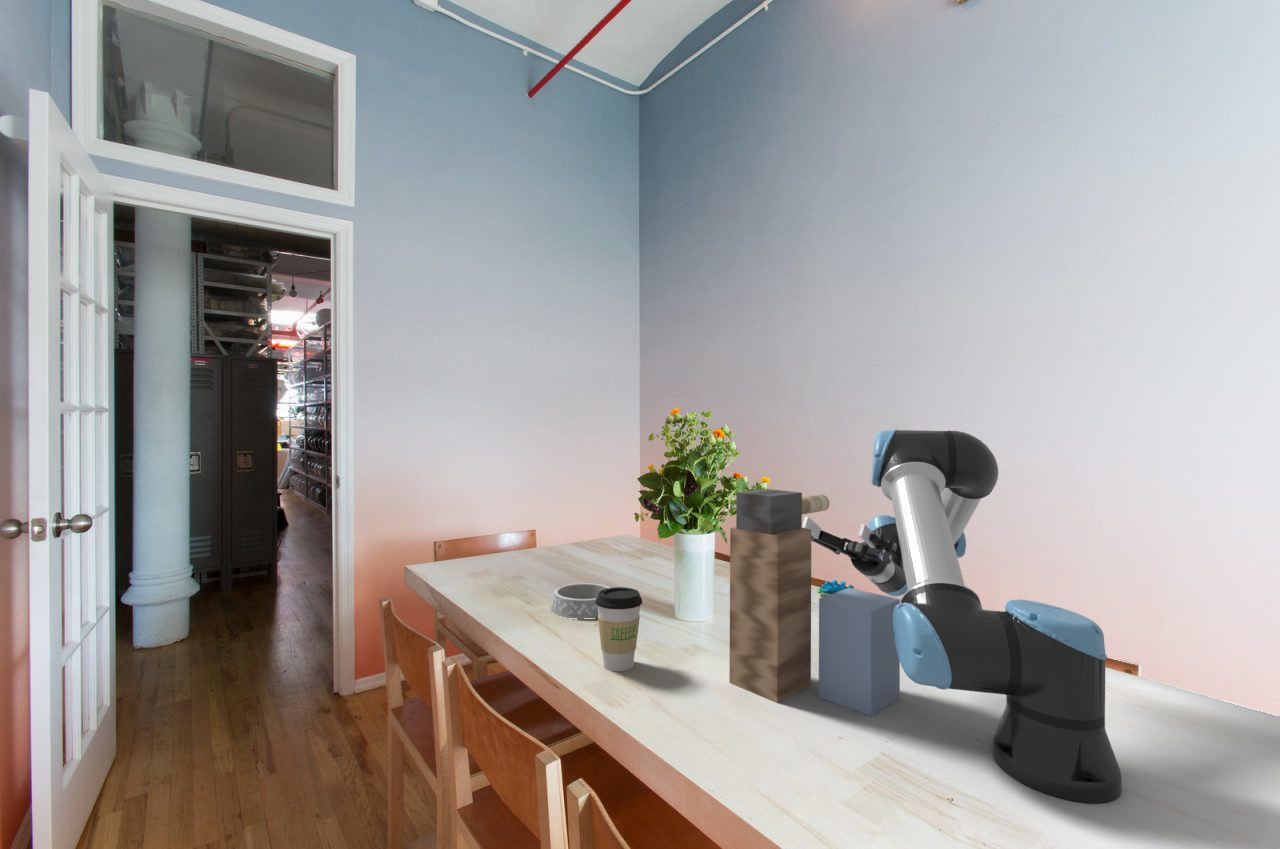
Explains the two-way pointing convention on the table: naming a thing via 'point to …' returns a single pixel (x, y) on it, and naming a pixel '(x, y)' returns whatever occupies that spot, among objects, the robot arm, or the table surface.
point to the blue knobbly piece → (832, 588)
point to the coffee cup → (618, 626)
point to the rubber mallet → (775, 510)
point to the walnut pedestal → (770, 612)
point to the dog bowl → (577, 600)
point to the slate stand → (858, 650)
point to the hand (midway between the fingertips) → (832, 525)
